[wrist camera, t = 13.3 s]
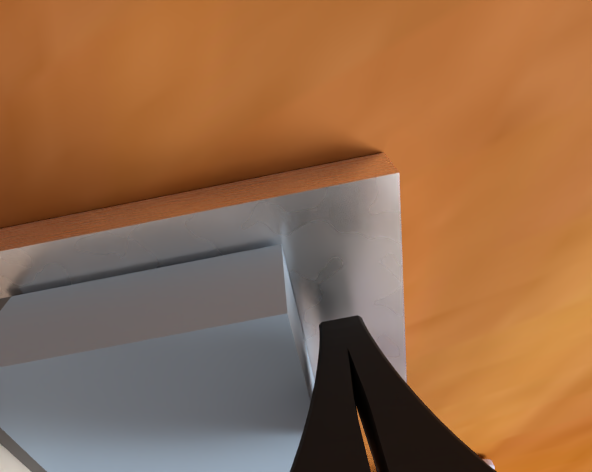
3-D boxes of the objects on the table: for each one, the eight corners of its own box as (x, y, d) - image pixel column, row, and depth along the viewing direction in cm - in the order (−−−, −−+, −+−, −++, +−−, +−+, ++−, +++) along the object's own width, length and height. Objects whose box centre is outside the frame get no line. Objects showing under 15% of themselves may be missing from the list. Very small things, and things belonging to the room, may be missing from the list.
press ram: (318, 395, 15) (328, 471, 13) (106, 434, 15) (79, 515, 13) (281, 244, 11) (287, 313, 9) (-2, 298, 11) (-70, 380, 9)
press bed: (396, 366, 17) (460, 544, 12) (-62, 450, 18) (-204, 656, 12) (384, 152, 12) (493, 299, 6) (-275, 283, 12) (-698, 520, 7)
